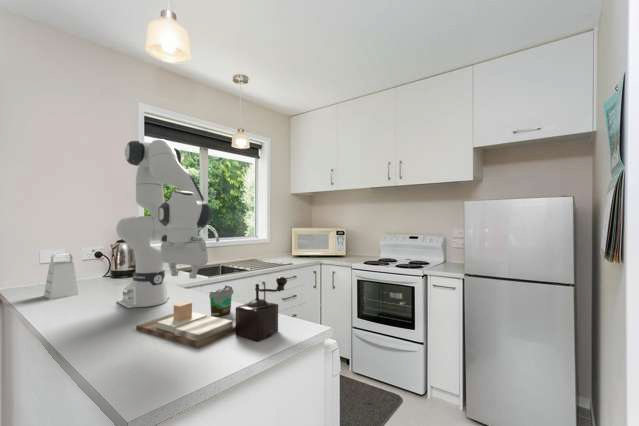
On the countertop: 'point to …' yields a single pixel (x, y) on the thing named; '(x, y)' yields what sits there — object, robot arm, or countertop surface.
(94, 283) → the countertop surface
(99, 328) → the countertop surface
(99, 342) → the countertop surface
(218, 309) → the food container
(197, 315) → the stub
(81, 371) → the countertop surface
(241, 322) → the manual coffee grinder
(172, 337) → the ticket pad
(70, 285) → the grater
